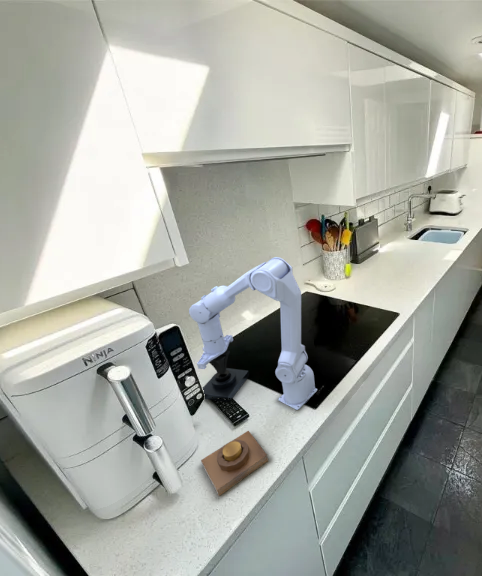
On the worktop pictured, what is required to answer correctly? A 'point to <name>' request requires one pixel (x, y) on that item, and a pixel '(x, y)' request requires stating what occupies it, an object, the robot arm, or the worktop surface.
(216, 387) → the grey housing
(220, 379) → the black button
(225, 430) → the worktop surface
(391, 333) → the worktop surface
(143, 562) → the worktop surface
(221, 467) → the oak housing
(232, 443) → the brass button
